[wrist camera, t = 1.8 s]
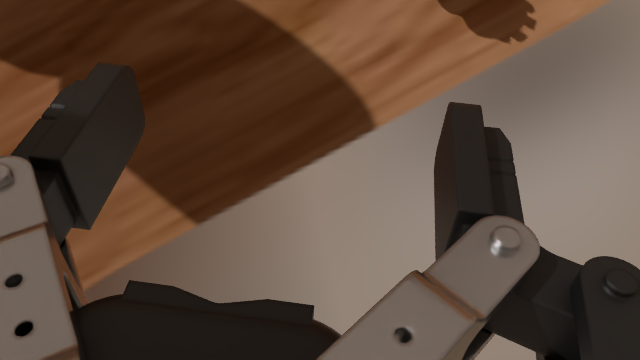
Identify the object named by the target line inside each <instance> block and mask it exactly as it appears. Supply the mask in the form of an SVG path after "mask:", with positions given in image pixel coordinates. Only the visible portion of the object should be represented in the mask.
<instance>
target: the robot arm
mask: <svg viewBox="0 0 640 360" xmlns="http://www.w3.org/2000/svg"><path fill="white" fill-rule="evenodd" d="M144 126H145V116H144V111H143V107H142V103H141V99H140V95H139V91H138V87H137V83H136V79H135V75H134V72H133V69H132V68H131V67H130V66H125V65H116V64H107V63H98V64H97V65H96V66H95V67H94V68H93V70H92V71H91V72H90V74H89V75H88V76H87V78H86V79H85V80H84V81H81V80H78V81H76V82H74V83H73V84H71V85H70V86H68V87H67V88H65V89H64V90H62V91H61V92H60V93H59V94H58V96H57V97H56V98H55V99H54V101H53V102H52V103H51V104H50V108H47V110H46V111H45V112H44V113H43V115H42V118H41V119H39V120H38V121H37V122H36V123H35V125H34V126H33V127H32V129H31V130H30V131H29V132H28V134H27V135H26V136H25V137H24V139H23V140H22V141H21V143H20V144H19V145H18V146H17V148H16V149H15V150H14V151H13V153H12V154H11V155H10V156H0V360H474V359H475V357H476V356H477V354H479V353H480V351H481V350H482V349H483V348H484V346H485V345H486V344H487V343H488V342H489V341H490V340H491V339H492V337H493V336H494V335H495V334H497V335H499V336H502V337H504V338H506V339H508V340H511V341H513V342H515V343H517V344H520V345H522V346H524V347H526V348H528V349H531V350H533V351H535V352H536V359H537V360H640V270H639V269H638V268H637V267H635V266H634V265H632V264H630V263H628V262H626V261H624V260H621V259H618V258H614V257H608V256H601V257H595V258H592V259H590V260H589V261H587V262H586V263H585V264H584V265H580V264H577V263H575V262H572V261H570V260H567V259H565V258H562V257H559V256H557V255H555V254H553V253H551V252H549V251H547V250H545V249H544V248H543V247H541V246H540V245H539V242H538V239H537V238H536V236H535V234H534V233H533V232H532V231H531V230H530V229H529V228H528V227H527V226H526V225H525V224H524V219H523V213H522V207H521V201H520V195H519V189H518V184H517V178H516V176H515V173H516V172H515V166H514V163H513V154H512V148H511V143H510V142H509V141H508V139H507V138H506V136H505V135H504V134H503V132H502V131H501V130H500V128H491V127H484V124H483V115H482V109H481V106H480V105H473V104H464V103H455V102H450V103H449V105H448V108H447V112H446V115H445V119H444V123H443V127H442V131H441V135H440V139H439V143H438V146H437V151H436V157H435V165H434V195H435V196H434V198H435V244H436V245H435V249H436V261H435V262H434V263H433V264H432V265H431V266H430V267H429V268H428V269H427V270H426V271H424V272H423V273H420V272H419V271H417V270H415V271H413V272H411V273H409V274H408V275H407V276H406V277H405V278H403V279H402V280H401V281H400V282H399V283H398V284H397V285H396V286H395V287H394V288H393V289H391V290H390V291H389V292H388V293H387V294H386V295H385V296H384V297H383V298H382V299H381V300H380V301H379V302H377V303H376V304H375V305H374V306H373V307H372V308H371V309H370V310H369V311H368V312H367V313H366V314H365V315H364V316H362V317H361V318H360V319H359V320H358V321H357V322H356V323H355V324H354V325H353V326H352V327H351V328H350V329H348V330H347V331H346V332H345V333H344V334H343V335H340V334H339V333H338V332H336V331H335V330H333V329H332V328H330V327H328V326H327V325H325V324H323V323H321V322H318V321H316V320H314V319H313V316H314V306H313V305H306V304H299V303H292V302H284V301H277V300H270V299H265V300H254V301H244V302H232V303H214V302H211V301H209V300H206V299H204V298H201V297H199V296H196V295H194V294H192V293H189V292H187V291H184V290H182V289H179V288H177V287H174V286H168V285H160V284H153V283H146V282H138V281H131V280H129V282H128V284H127V286H126V289H125V291H124V293H123V294H120V295H114V296H110V297H106V298H103V299H99V300H96V301H93V302H91V303H89V304H88V303H87V300H86V297H85V294H84V291H83V287H82V284H81V281H80V278H79V274H78V271H77V268H76V265H75V261H74V258H73V255H72V252H71V249H70V245H69V243H68V240H67V238H66V236H67V234H68V232H69V231H70V229H71V227H72V228H80V229H87V230H90V229H91V227H92V225H93V223H94V221H95V220H96V218H97V216H98V214H99V212H100V211H101V209H102V207H103V205H104V204H105V202H106V200H107V198H108V196H109V195H110V193H111V191H112V189H113V187H114V186H115V184H116V182H117V180H118V178H119V177H120V175H121V173H122V171H123V169H124V168H125V166H126V164H127V162H128V160H129V159H130V157H131V155H132V153H133V151H134V150H135V148H136V146H137V144H138V143H139V141H140V139H141V137H142V135H143V131H144Z"/></svg>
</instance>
